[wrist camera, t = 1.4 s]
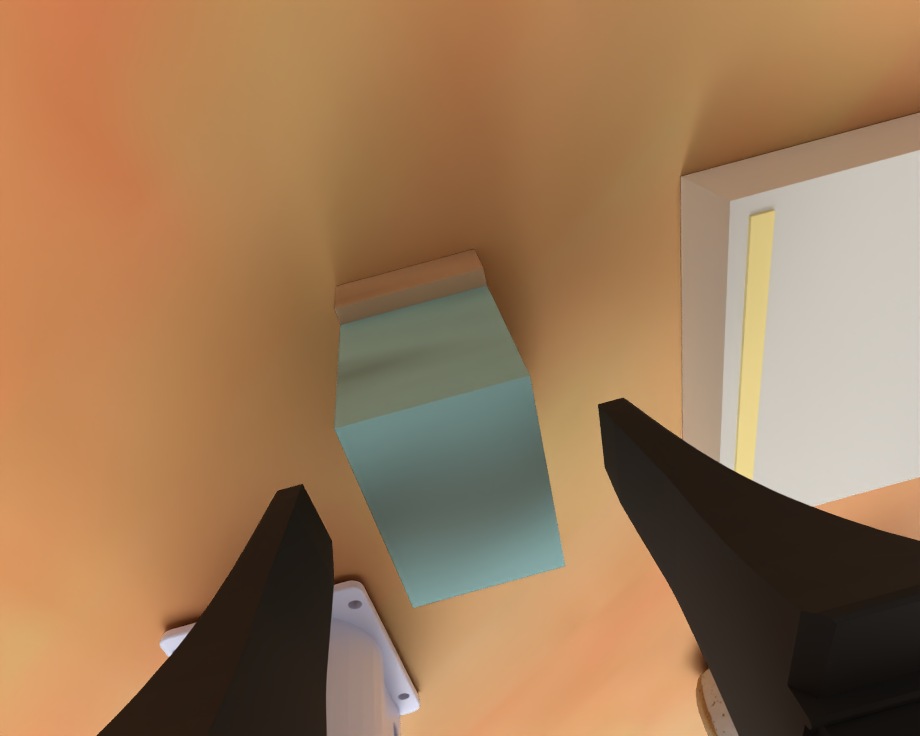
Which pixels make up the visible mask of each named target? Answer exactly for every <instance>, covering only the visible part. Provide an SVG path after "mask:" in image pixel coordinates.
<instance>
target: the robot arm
mask: <svg viewBox="0 0 920 736" xmlns="http://www.w3.org/2000/svg"><path fill="white" fill-rule="evenodd" d="M598 409H599V418H600V427H601V436H602V446H603V455H604V464H605V469H606V471H607V473H608V476H609V478H610V480H611V483H612V485H613V487H614V490H615V492H616V494H617V496H618V498H619V501H620V503H621V505H622V506H623V508H624V510H625V512H626V513H627V515H628V517H629V518H630V520H631V522H632V524H633V525H634V527H635V529H636V530H637V532H638V534H639V535H640V537H641V539H642V540H643V542H644V544H645V545H646V547H647V549H648V550H649V552H650V554H651V555H652V557H653V559H654V560H655V562H656V564H657V565H658V567H659V569H660V570H661V572H662V574H663V575H664V577H665V579H666V580H667V582H668V584H669V586H670V588H671V589H672V591H673V593H674V595H675V597H676V599H677V601H678V603H679V605H680V607H681V609H682V611H683V613H684V615H685V617H686V620H687V622H688V624H689V626H690V628H691V630H692V632H693V634H694V637H695V639H696V641H697V643H698V645H699V647H700V650H701V652H702V654H703V656H704V658H705V661H706V663H707V665H708V667H709V669H710V672H711V674H712V676H713V678H714V680H715V683H716V685H717V687H718V690H719V692H720V694H721V696H722V699H723V701H724V703H725V706H726V708H727V710H728V713H729V715H730V717H731V719H732V722H733V724H734V726H735V729H736V731H737V733H738V736H920V541H918V540H914V539H911V538H907V537H903V536H900V535H896V534H892V533H888V532H885V531H881V530H878V529H875V528H872V527H869V526H866V525H863V524H860V523H856V522H853V521H850V520H847V519H844V518H841V517H839V516H836V515H833V514H830V513H827V512H825V511H822V510H819V509H817V508H814V507H812V506H809V505H807V504H804V503H802V502H799V501H797V500H794V499H792V498H790V497H787V496H785V495H783V494H780V493H778V492H776V491H774V490H771V489H769V488H767V487H765V486H763V485H761V484H759V483H757V482H755V481H753V480H751V479H749V478H747V477H745V476H743V475H741V474H739V473H737V472H735V471H733V470H731V469H730V468H728V467H726V466H724V465H723V464H721V463H719V462H718V461H716V460H714V459H712V458H711V457H709V456H707V455H706V454H704V453H703V452H701V451H699V450H698V449H696V448H695V447H693V446H692V445H690V444H688V443H687V442H685V441H684V440H682V439H681V438H679V437H678V436H676V435H675V434H673V433H672V432H670V431H669V430H667V429H666V428H665V427H663V426H662V425H660V424H659V423H658V422H656V421H655V420H653V419H652V418H651V417H649V416H648V415H647V414H645V413H644V412H642V411H641V410H640V409H638V408H637V407H636V406H634V405H633V404H632V403H630V402H629V401H628V400H626V399H624V398H620V399H616V400H613V401H609V402H605V403H602V404H598ZM159 645H160V647H161V649H162V650H163V651H164V652H165V653H166V654H167V655H168V657H169V658H168V659H167V660H166V661H165V662H164V664H163V665H162V666H161V667H160V668H159V669H158V671H157V672H156V673H155V674H154V675H153V676H152V677H151V679H150V680H149V681H148V682H147V683H146V684H145V686H144V687H143V688H142V689H141V690H140V691H139V692H138V693H137V695H136V696H135V697H134V698H133V699H132V700H131V701H130V702H129V703H128V704H127V705H126V706H125V707H124V708H123V709H122V710H121V711H120V713H119V714H118V715H117V716H116V717H115V718H114V719H113V720H112V721H111V722H110V723H109V724H108V725H107V726H106V727H105V728H104V729H103V730H102V731H101V732H100V733H99V734H98V735H97V736H401V723H400V715H404V714H408V713H411V712H414V711H416V710H417V709H418V708H419V707H420V699H419V696H418V694H417V692H416V690H415V688H414V686H413V684H412V682H411V680H410V678H409V676H408V674H407V672H406V670H405V668H404V666H403V664H402V662H401V660H400V658H399V656H398V654H397V652H396V650H395V648H394V646H393V644H392V642H391V640H390V638H389V636H388V634H387V632H386V630H385V628H384V626H383V624H382V622H381V620H380V618H379V616H378V614H377V612H376V610H375V608H374V606H373V604H372V602H371V600H370V598H369V596H368V594H367V592H366V590H365V588H364V586H363V585H362V584H361V583H360V582H358V581H353V580H352V581H346V582H342V583H339V584H335V585H334V566H333V549H332V540H331V538H330V536H329V534H328V532H327V530H326V528H325V526H324V524H323V523H322V521H321V519H320V517H319V515H318V513H317V511H316V509H315V507H314V505H313V503H312V501H311V499H310V497H309V495H308V494H307V492H306V490H305V488H304V486H303V484H301V485H297V486H294V487H290V488H286V489H282V490H279V491H277V493H276V494H275V496H274V498H273V500H272V501H271V503H270V505H269V506H268V508H267V510H266V512H265V514H264V515H263V517H262V519H261V521H260V522H259V524H258V526H257V528H256V530H255V531H254V533H253V535H252V537H251V538H250V540H249V542H248V544H247V545H246V547H245V549H244V550H243V552H242V554H241V555H240V557H239V559H238V560H237V562H236V564H235V565H234V567H233V569H232V570H231V572H230V574H229V575H228V577H227V578H226V580H225V581H224V583H223V584H222V586H221V587H220V589H219V591H218V592H217V594H216V595H215V597H214V598H213V600H212V601H211V603H210V604H209V606H208V607H207V609H206V610H205V611H204V613H203V614H202V616H201V617H200V618H199V620H198V621H197V622H196V623H193V624H189V625H185V626H182V627H178V628H174V629H171V630H168V631H166V632H164V633H163V634H162V637H161V640H160V644H159Z"/></svg>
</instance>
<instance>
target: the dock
mask: <svg viewBox="0 0 920 736" xmlns="http://www.w3.org/2000/svg"><path fill="white" fill-rule="evenodd" d="M681 281H682V406H683V440H684V441H685V442H687V443H688V444H690V445H692V446H693V447H695V448H696V449H698V450H699V451H701V452H703V453H704V454H706V455H707V456H709V457H711V458H712V459H714V460H716V461H718V462H719V463H721V464H723V465H724V466H726V467H728V468H730V469H731V470H733V471H735V472H737V473H739V474H741V475H743V476H745V477H747V478H749V479H751V480H753V481H755V482H757V483H759V484H761V485H763V486H765V487H767V488H769V489H771V490H774V491H776V492H778V493H780V494H783V495H785V496H787V497H790V498H792V499H794V500H797V501H799V502H802V503H804V504H807V505H809V506H812V507H813V506H816V505H820V504H824V503H827V502H831V501H835V500H838V499H842V498H845V497H849V496H853V495H856V494H860V493H864V492H867V491H871V490H875V489H878V488H882V487H885V486H889V485H893V484H896V483H900V482H904V481H907V480H911V479H915V478H918V477H920V112H919V113H916V114H912V115H908V116H904V117H901V118H897V119H893V120H890V121H886V122H882V123H878V124H875V125H871V126H867V127H863V128H860V129H856V130H852V131H849V132H845V133H841V134H837V135H834V136H830V137H826V138H822V139H819V140H815V141H811V142H808V143H804V144H800V145H796V146H793V147H789V148H785V149H781V150H778V151H774V152H770V153H767V154H763V155H759V156H755V157H752V158H748V159H744V160H740V161H737V162H733V163H729V164H726V165H722V166H718V167H714V168H711V169H707V170H703V171H700V172H696V173H692V174H688V175H685V176H681Z"/></svg>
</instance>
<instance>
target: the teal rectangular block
mask: <svg viewBox="0 0 920 736" xmlns="http://www.w3.org/2000/svg"><path fill="white" fill-rule="evenodd" d="M334 309H335V312H336V315H337V317H338V320H339V322H340V340H339V357H338V373H337V389H336V406H335V422H334V430H335V432H336V434H337V436H338V439H339V441H340V443H341V445H342V448H343V450H344V452H345V455H346V457H347V459H348V461H349V464H350V466H351V468H352V470H353V473H354V475H355V477H356V479H357V482H358V484H359V486H360V489H361V491H362V493H363V495H364V498H365V500H366V502H367V504H368V507H369V509H370V511H371V513H372V516H373V518H374V520H375V522H376V525H377V527H378V529H379V532H380V534H381V536H382V538H383V541H384V543H385V545H386V547H387V550H388V552H389V554H390V556H391V559H392V561H393V563H394V566H395V568H396V570H397V572H398V575H399V577H400V579H401V581H402V584H403V586H404V588H405V590H406V593H407V595H408V597H409V600H410V602H411V604H412V606H413V608H415V607H419V606H422V605H426V604H430V603H433V602H437V601H441V600H444V599H448V598H451V597H455V596H459V595H462V594H466V593H470V592H473V591H477V590H481V589H484V588H488V587H491V586H495V585H499V584H502V583H506V582H510V581H513V580H517V579H521V578H524V577H528V576H531V575H535V574H539V573H542V572H546V571H550V570H553V569H557V568H561V567H564V566H565V562H564V556H563V551H562V546H561V540H560V535H559V529H558V524H557V519H556V513H555V508H554V503H553V497H552V492H551V486H550V481H549V476H548V470H547V465H546V459H545V454H544V449H543V443H542V438H541V433H540V427H539V422H538V416H537V411H536V406H535V400H534V395H533V389H532V384H531V379H530V375H529V373H528V370H527V368H526V366H525V364H524V362H523V360H522V358H521V356H520V354H519V352H518V349H517V347H516V345H515V343H514V341H513V339H512V337H511V335H510V333H509V330H508V328H507V326H506V324H505V322H504V320H503V318H502V316H501V314H500V312H499V309H498V307H497V305H496V303H495V301H494V299H493V297H492V295H491V293H490V290H489V288H488V286H487V283H486V278H485V273H484V269H483V266H482V264H481V262H480V260H479V258H478V256H477V254H476V252H475V250H474V249H473V250H469V251H465V252H461V253H458V254H454V255H450V256H447V257H443V258H439V259H435V260H432V261H428V262H424V263H421V264H417V265H413V266H409V267H406V268H402V269H398V270H395V271H391V272H387V273H383V274H380V275H376V276H372V277H369V278H365V279H361V280H357V281H354V282H350V283H346V284H343V285H339V286H336V292H335V304H334Z"/></svg>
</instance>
